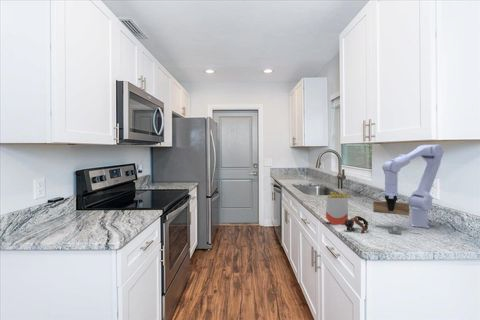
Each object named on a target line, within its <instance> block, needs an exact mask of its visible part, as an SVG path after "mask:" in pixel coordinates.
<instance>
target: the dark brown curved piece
mask: <svg viewBox="0 0 480 320" xmlns="http://www.w3.org/2000/svg"><path fill="white" fill-rule="evenodd" d="M354 223H355V224H354ZM343 225H344V226H345V227H346V230H351V229H352V228H353V227H354V225H357V226H359V227H360V228H361V230H360V232H361V233H365V232H366V231H367V230H368V228H369V222H368V221H367V219H365V218H364V217H362V216H359V215H355V216H354V217H351V218H350V219H349V218H348V219H347V220H346V221H345V222H344V224H343Z"/></svg>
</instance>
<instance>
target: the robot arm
mask: <svg viewBox="0 0 480 320" xmlns="http://www.w3.org/2000/svg"><path fill="white" fill-rule="evenodd" d="M444 152H445V151H444V148H443V146H442V145H441V144H437V143H435V144H421V145H419V146H417V147H416V148H415V149H413V150H412V151H410V152H409V153H407V154H403V153H402V154H398V156H397V157H396V158H391V160H390V161H388V160H387V161H385V162H384V163H383V164H382V166H381V168H382V171H383V174H384V191H382V194H383V195H384V200H385V202H387V205H388V210H389V211H393V210H394V206H395V203H396V202H398V201H397V200H398V195H399V192H398V185H399V184H398V180H399V179H398V176H399V175H398V174H399V172H400V171H401V168H404V167H406V166H408V165H409V164H410V163H411V161H412V160H414V159H416V158H419V157H421V159H423V160H424V161H425V162H426V166H425V169H424V171H423V173H422V177H421V179H420V182H419V185H418V188H417V189H416V190H414V191H412V193H411V195H410V196H409V197H408V199H407V203H409V207H410V208H411V220H410V221H409V222H410V226H411V227H415V228H424V229H425V228H426V229H430V227H431V226H430V225H429V224H428V223H429V220H428V219H429V211H430V209H431V208H432V207H433V199H434V198H433V196H432V195H431V194H430V192H431V190H432V187H433V185H434V181H435V178H436V176H437V173H438V172H439V168H440V165H441V161H442V158H443V155H444Z"/></svg>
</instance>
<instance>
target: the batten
mask: <svg viewBox="0 0 480 320" xmlns="http://www.w3.org/2000/svg"><path fill="white" fill-rule="evenodd" d="M372 204H373V207H372V209H373V210H372V211H373V213H379V214H390V215H400V216H410V205H409V203H408V202H398V201H396V203H395V206H394V210H393V211H389V210H388V205H387V202H386V200H385V201H382V200H381V201H380V200H373V203H372Z"/></svg>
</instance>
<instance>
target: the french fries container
mask: <svg viewBox="0 0 480 320" xmlns="http://www.w3.org/2000/svg"><path fill="white" fill-rule="evenodd" d="M348 201H349V199H348V193H347V192H344V193H342V192H341V191H339V194H337V192H336V191H330V195H327V197H326V202H325V203H326V205H325V218H326V220H327V221H328V222H329V223H330V224H332V225H338V226H339V225H341V226H342V225H345V224H344V222H345V221H346V220H347V219H349V211H348V210H349V209H348V208H349V207H348V206H349V202H348Z"/></svg>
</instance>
